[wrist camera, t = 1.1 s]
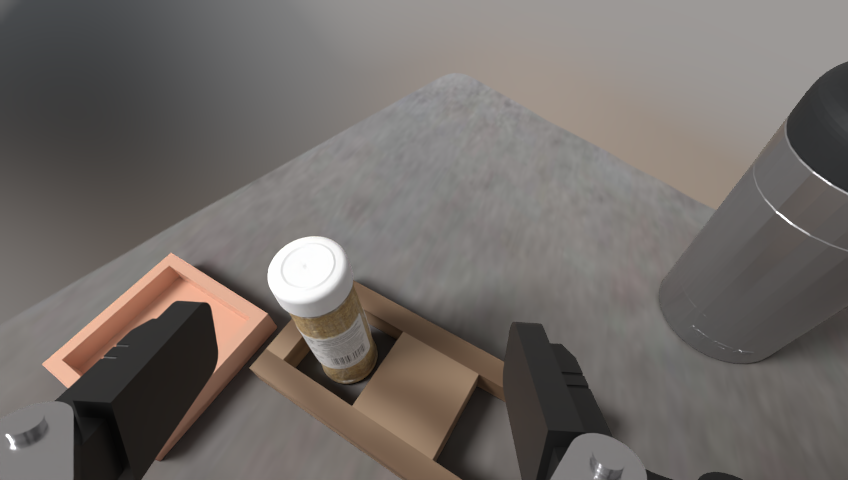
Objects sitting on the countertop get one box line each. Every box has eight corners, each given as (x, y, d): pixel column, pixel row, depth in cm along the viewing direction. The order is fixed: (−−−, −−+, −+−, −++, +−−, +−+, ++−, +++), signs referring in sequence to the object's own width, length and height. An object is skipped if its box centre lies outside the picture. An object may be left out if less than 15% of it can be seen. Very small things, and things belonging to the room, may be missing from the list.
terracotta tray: (184, 268, 40) (171, 252, 38) (277, 327, 36) (267, 313, 34) (65, 375, 34) (42, 364, 33) (160, 461, 30) (140, 454, 28)
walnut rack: (339, 285, 39) (334, 269, 37) (590, 423, 31) (600, 413, 29) (260, 379, 34) (249, 367, 32) (535, 574, 26) (543, 575, 24)
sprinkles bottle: (374, 327, 36) (344, 226, 25) (381, 380, 33) (351, 292, 23) (320, 337, 36) (266, 240, 25) (322, 392, 33) (263, 309, 22)
